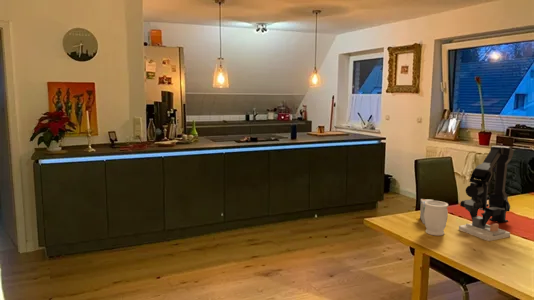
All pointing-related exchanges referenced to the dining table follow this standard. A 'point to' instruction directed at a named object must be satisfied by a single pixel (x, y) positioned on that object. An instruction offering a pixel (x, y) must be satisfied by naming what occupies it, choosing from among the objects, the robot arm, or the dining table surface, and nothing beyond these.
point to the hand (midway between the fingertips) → (478, 224)
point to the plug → (477, 222)
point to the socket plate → (483, 232)
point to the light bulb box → (423, 209)
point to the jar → (435, 217)
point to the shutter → (494, 229)
